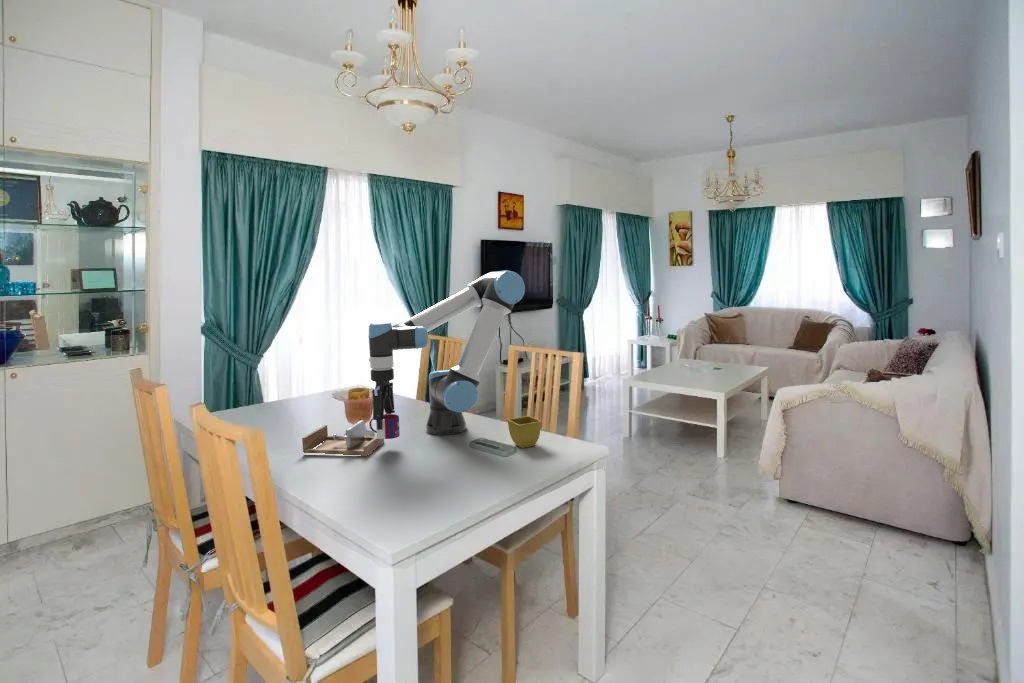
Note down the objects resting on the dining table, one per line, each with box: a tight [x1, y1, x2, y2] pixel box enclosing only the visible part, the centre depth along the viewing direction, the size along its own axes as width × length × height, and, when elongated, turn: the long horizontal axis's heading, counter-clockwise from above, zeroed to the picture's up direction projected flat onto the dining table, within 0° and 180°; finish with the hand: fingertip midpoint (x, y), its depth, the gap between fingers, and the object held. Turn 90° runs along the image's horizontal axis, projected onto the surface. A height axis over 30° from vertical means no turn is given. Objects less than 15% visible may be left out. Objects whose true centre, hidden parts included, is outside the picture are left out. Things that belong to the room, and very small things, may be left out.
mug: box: [369, 413, 401, 440], centre depth 183 cm, size 7×10×7 cm
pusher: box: [332, 420, 366, 450], centre depth 186 cm, size 8×12×7 cm, turn 173°
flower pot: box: [507, 415, 542, 449], centre depth 185 cm, size 9×9×9 cm
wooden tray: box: [301, 424, 385, 457], centre depth 186 cm, size 22×16×6 cm
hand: (385, 435), depth 184 cm, fingers closed on mug, 7 cm apart
